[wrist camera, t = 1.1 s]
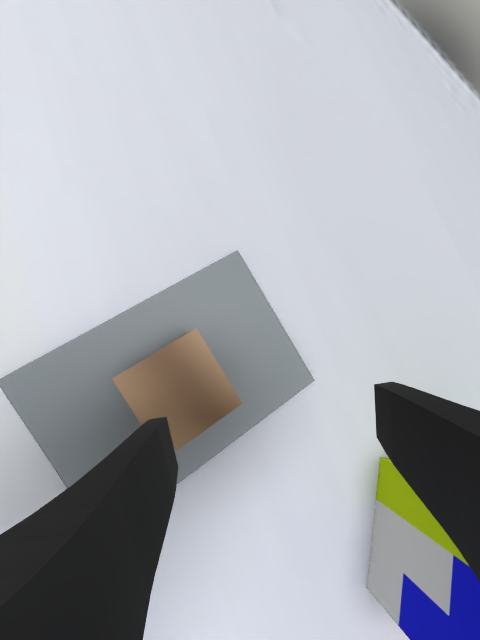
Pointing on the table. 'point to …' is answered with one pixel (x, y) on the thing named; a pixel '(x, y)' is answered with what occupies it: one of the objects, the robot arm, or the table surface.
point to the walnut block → (179, 388)
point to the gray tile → (139, 343)
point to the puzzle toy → (419, 567)
